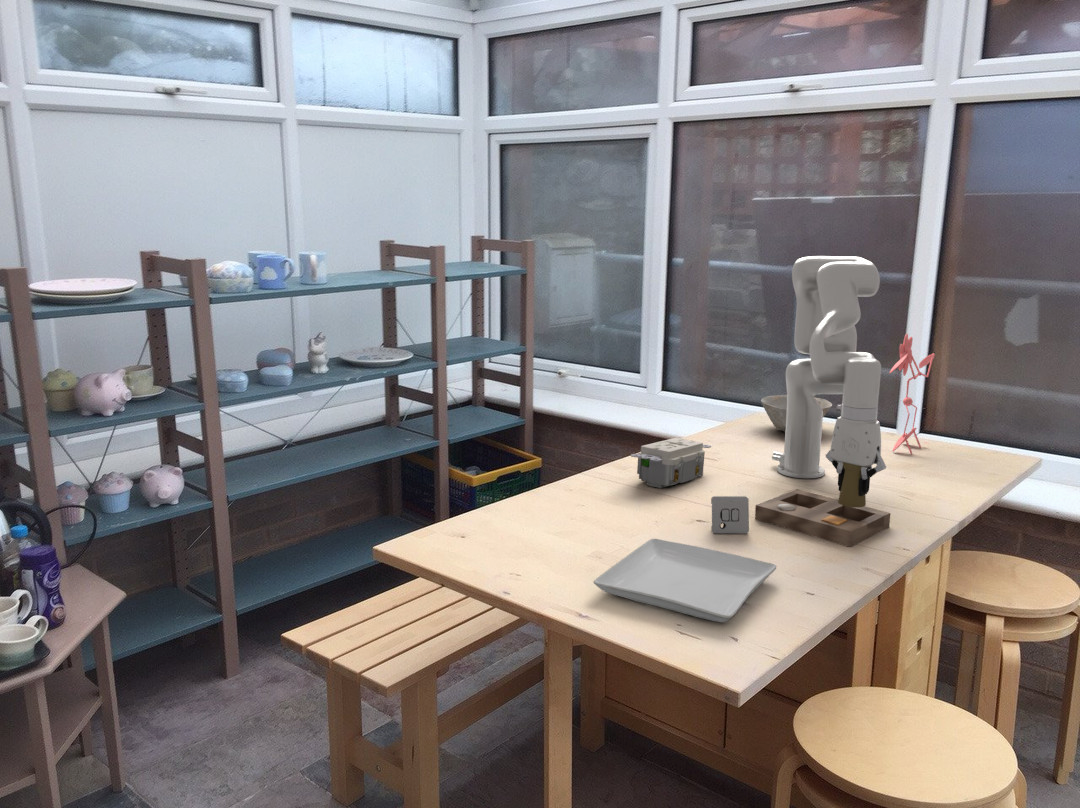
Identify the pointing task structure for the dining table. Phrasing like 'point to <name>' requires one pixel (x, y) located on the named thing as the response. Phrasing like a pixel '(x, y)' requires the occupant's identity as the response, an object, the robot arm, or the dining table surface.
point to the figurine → (903, 364)
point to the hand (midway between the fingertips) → (852, 491)
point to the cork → (851, 487)
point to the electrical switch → (730, 514)
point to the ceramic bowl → (785, 409)
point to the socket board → (822, 517)
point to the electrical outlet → (670, 462)
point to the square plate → (686, 579)
